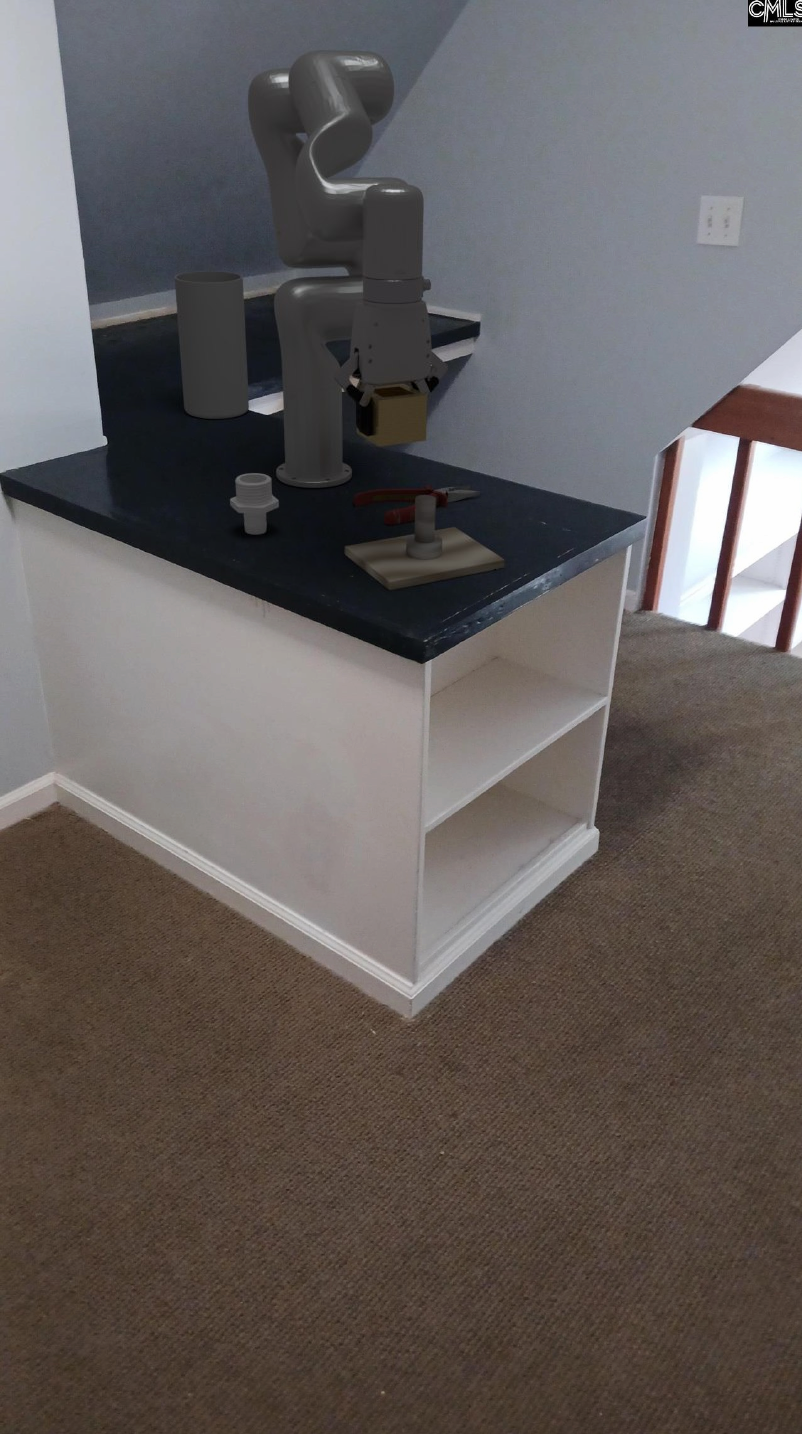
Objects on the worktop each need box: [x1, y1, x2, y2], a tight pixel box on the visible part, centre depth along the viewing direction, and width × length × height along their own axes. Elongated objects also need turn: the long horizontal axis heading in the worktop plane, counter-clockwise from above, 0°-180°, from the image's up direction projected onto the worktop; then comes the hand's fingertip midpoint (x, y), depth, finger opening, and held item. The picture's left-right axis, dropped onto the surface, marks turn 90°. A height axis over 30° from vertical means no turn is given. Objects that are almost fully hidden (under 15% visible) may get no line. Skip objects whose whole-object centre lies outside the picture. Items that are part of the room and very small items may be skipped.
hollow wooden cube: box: [356, 383, 428, 447], centre depth 156 cm, size 7×7×6 cm
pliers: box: [353, 485, 482, 526], centre depth 185 cm, size 12×20×3 cm, turn 122°
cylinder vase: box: [174, 270, 250, 420], centre depth 223 cm, size 12×12×25 cm
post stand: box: [344, 495, 506, 591], centre depth 162 cm, size 14×18×9 cm
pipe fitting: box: [229, 472, 280, 535], centre depth 172 cm, size 6×7×8 cm
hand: (391, 429), depth 157 cm, fingers closed on hollow wooden cube, 7 cm apart
